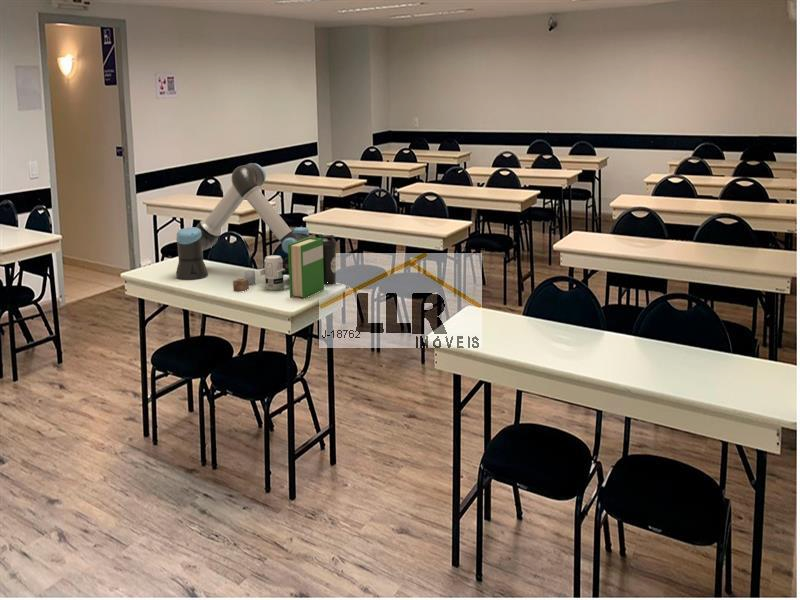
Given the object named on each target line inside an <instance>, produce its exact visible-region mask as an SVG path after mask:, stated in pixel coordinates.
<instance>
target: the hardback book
mask: <svg viewBox="0 0 800 600" xmlns="http://www.w3.org/2000/svg"><path fill="white" fill-rule="evenodd" d="M287 255H288V256H287V257H288V261H289V273H288V277H289V279H288V280H289V284H288V285H289V298H293V296H294V297H301V298H302V299H303V298H305V299H307V298H309V297H308V296H310V297H312V296H313V294H314V295H315V293H316V294H318V293H320V292H322V291H324V290H325V285H324V268H323V239H322V238H317V237H311V236H309V237H308V238H305V239H302V240H299V241H296V242H293V243H290V244H288V253H287ZM323 289H324V290H323ZM321 290H322V291H321ZM319 291H320V292H319ZM317 292H318V293H317ZM311 295H312V296H311ZM306 297H307V298H306Z"/></svg>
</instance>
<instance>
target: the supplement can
mask: <svg viewBox="0 0 800 600" xmlns="http://www.w3.org/2000/svg"><path fill="white" fill-rule="evenodd" d="M283 260H284V259H283V258H282V256H281V255H275V254H273V255H267V256H265V257H264V266H265V275H264V278H265V279H264V281H265V288H266V289H267V290H268V289H269V290H268V291H280V290H282V289H283V288H284V287H285V286H284V284H285V283H284V275H283V276H281V277H279V278H277V271H279V270H282V269H283Z"/></svg>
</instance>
